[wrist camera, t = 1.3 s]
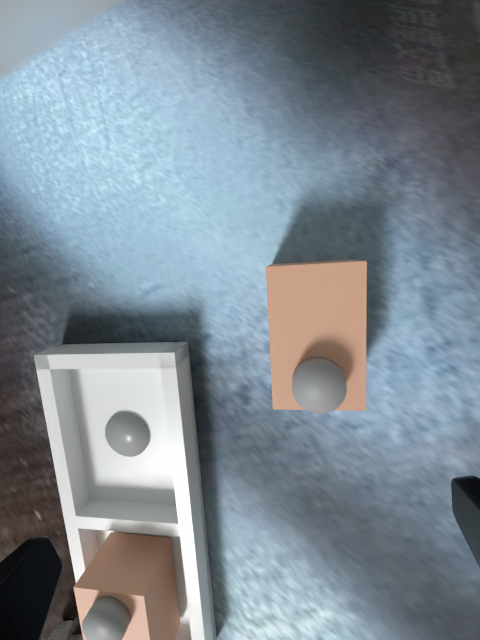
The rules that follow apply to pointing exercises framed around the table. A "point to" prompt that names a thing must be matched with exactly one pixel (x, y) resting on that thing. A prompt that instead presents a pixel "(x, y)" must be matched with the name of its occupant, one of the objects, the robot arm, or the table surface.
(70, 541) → the housing
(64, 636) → the caliper
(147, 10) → the table surface
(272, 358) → the block
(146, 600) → the orange block with knob
